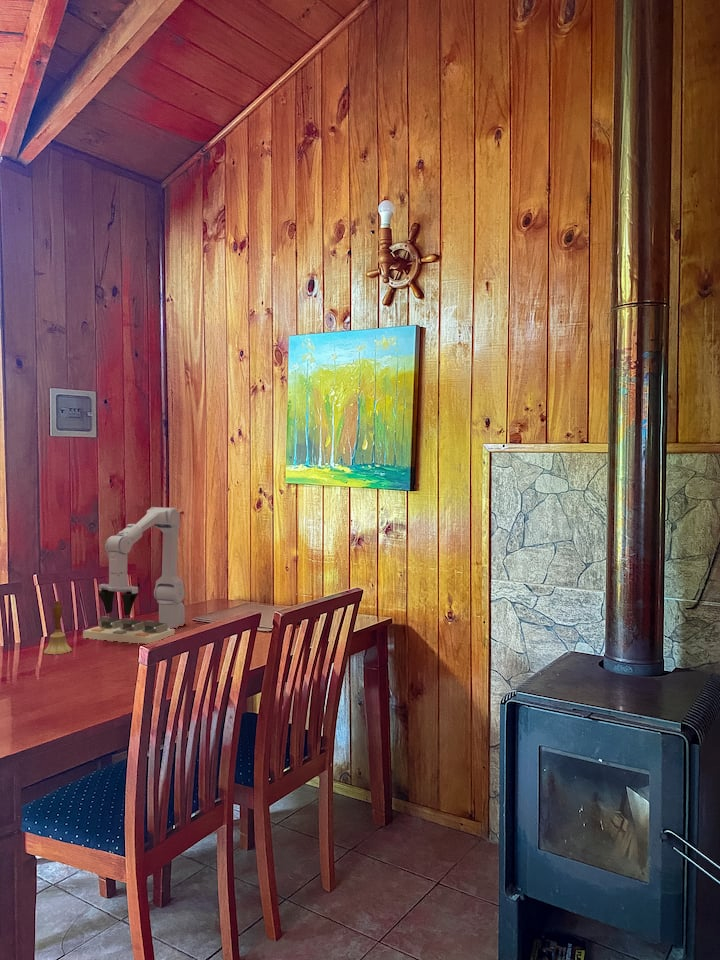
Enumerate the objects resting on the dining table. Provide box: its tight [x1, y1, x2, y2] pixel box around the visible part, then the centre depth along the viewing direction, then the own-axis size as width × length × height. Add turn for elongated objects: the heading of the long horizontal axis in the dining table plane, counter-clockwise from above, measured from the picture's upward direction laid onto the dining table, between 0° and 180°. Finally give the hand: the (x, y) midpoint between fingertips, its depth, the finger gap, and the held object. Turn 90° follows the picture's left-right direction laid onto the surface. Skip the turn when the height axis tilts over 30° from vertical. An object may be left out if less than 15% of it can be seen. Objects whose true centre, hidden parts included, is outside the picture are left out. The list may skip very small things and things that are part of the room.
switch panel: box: [82, 620, 176, 645], centre depth 248 cm, size 14×27×5 cm, turn 70°
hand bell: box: [43, 600, 73, 656], centre depth 228 cm, size 8×8×16 cm
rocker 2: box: [142, 620, 166, 627], centre depth 247 cm, size 8×4×2 cm, turn 160°
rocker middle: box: [120, 618, 144, 625], centre depth 250 cm, size 8×4×2 cm, turn 160°
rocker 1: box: [98, 615, 122, 623], centre depth 253 cm, size 8×4×2 cm, turn 160°
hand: (118, 613), depth 238 cm, fingers open, 7 cm apart
